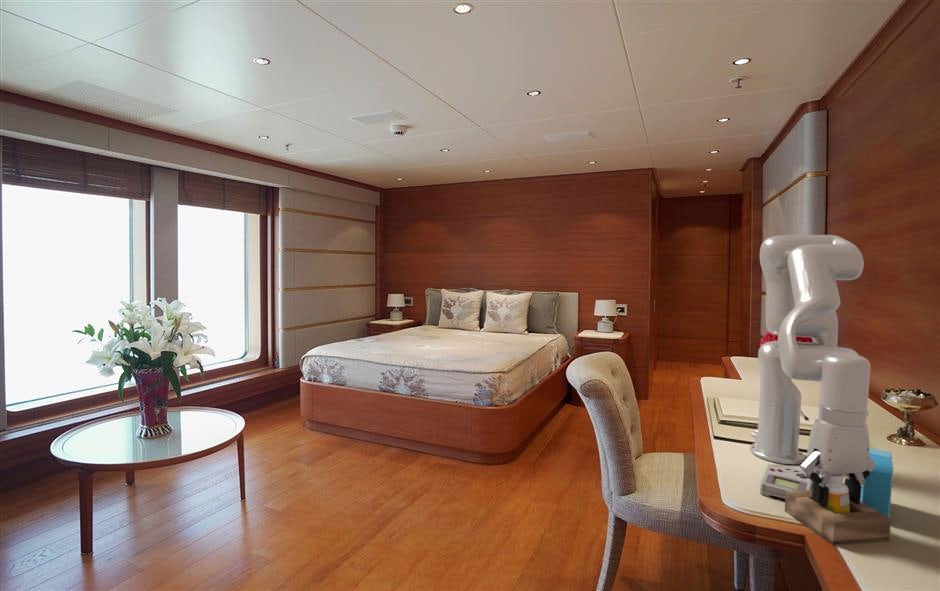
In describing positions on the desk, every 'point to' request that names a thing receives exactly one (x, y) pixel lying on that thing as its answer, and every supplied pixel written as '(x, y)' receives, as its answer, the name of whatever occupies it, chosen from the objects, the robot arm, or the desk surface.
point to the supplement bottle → (837, 495)
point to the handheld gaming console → (783, 480)
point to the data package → (879, 482)
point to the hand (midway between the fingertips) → (835, 501)
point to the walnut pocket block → (838, 520)
